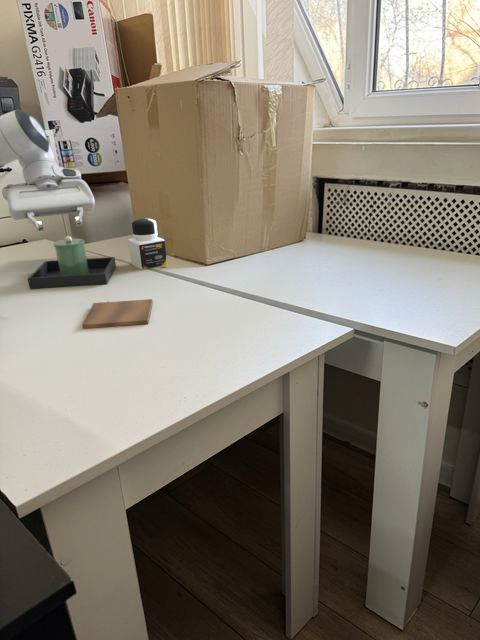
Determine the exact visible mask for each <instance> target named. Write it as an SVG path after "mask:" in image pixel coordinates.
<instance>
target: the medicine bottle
mask: <svg viewBox="0 0 480 640" xmlns="http://www.w3.org/2000/svg"><path fill="white" fill-rule="evenodd" d="M157 225H158V224H157V221H156V220H155V219H153V218H138V219H135V220H134V221H132V223H131V228H132V229H131V230H132V234H133V237H132V238H128V239H127V243H128V250H129V256H130V264H131V266H134V267H136V268H137V269H140V270H148V269H153V268H160V269H162V268H166V267H167V268H168V257H167V249H166V240H165V239H164V238H162V237H159V236H158V226H157Z"/></svg>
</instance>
